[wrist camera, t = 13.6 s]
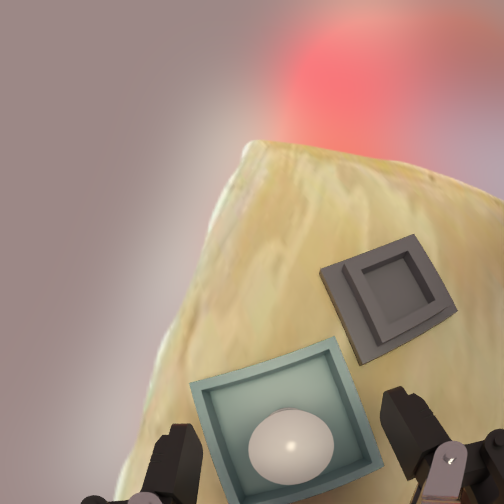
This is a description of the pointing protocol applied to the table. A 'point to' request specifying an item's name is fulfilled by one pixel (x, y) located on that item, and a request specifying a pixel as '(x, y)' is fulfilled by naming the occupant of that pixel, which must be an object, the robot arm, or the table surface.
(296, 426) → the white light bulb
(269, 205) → the table surface
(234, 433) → the parts tray
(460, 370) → the table surface
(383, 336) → the grey recessed base plate
